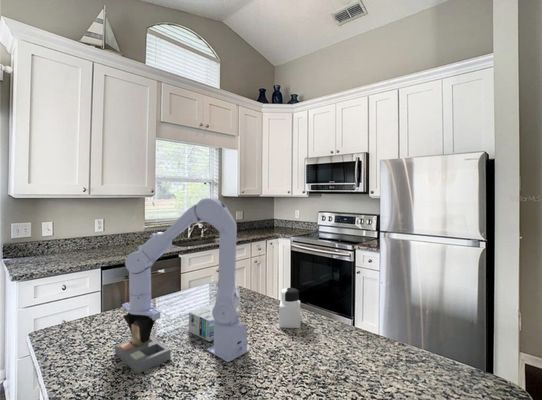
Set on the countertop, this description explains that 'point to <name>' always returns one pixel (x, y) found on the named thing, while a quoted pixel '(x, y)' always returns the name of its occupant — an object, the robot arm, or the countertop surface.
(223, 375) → the countertop surface
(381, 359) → the countertop surface
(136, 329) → the plug
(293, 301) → the medicine bottle
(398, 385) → the countertop surface
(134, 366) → the port board
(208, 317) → the light bulb box
